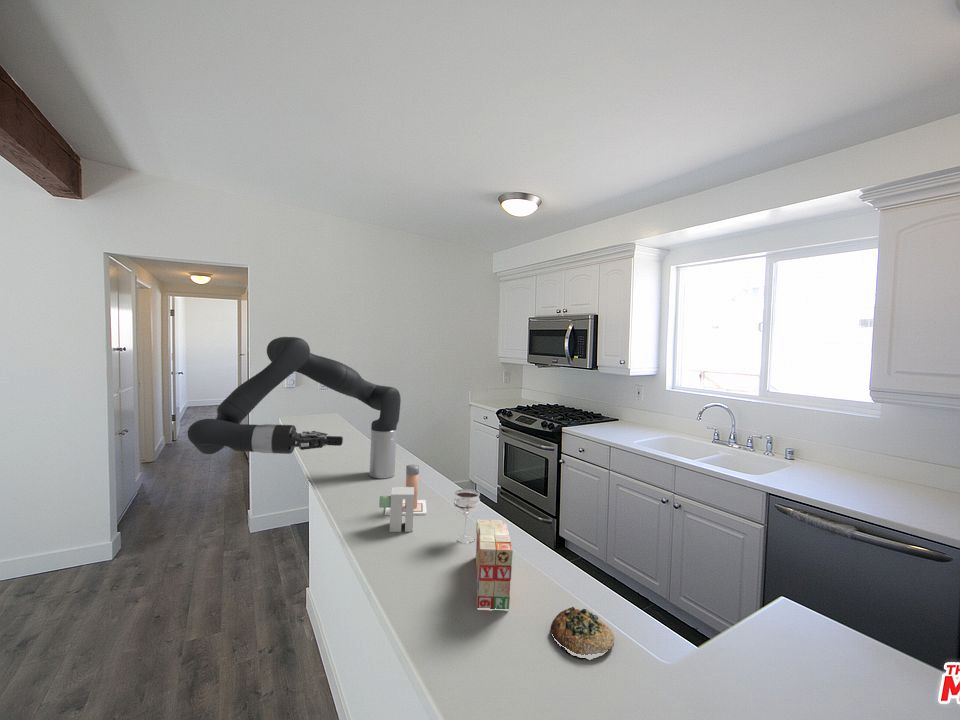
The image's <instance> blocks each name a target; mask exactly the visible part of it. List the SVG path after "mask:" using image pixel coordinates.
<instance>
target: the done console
mask: <svg viewBox="0 0 960 720" xmlns="http://www.w3.org/2000/svg"><path fill="white" fill-rule="evenodd" d="M390 496H391V508H390V515H389V516H390V518H389V533H400V532H402V526H403V525H402V522H403V515H402V504H403V500H405V499H406V515H405V519H404V522H405V523H404V524H405V525H404V532H405V533H408V532H409V533H411V532H414V530H413V527H414V515H413V509H414V487H406V486H392V488H391V492H390Z"/></svg>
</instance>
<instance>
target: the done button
mask: <svg viewBox="0 0 960 720" xmlns="http://www.w3.org/2000/svg"><path fill="white" fill-rule="evenodd" d="M378 507H379V508H381V509H383V508H385V509H386V508H391V495H380V496H379V506H378Z"/></svg>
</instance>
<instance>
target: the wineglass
mask: <svg viewBox="0 0 960 720" xmlns="http://www.w3.org/2000/svg"><path fill="white" fill-rule="evenodd" d="M454 495H455V496H454V499H453V506H454V508H456V510H457V512H459V513H461V514H462V515H463V516H464V534H461V535H458V536H456V537H455V541H456V540H458V541H460V542H463V543H462V544H470V543H469V542H472V541H474V542H475V540H474V539H475V537H474V536H472V535H468V534H467V530H468V529H467V528H468V516H469V515H471V514H473V513H474V512H475V511H476V510H478V509H479V507H480V503H481V499H480V496H481V493H480V492H479V491H478V490H475V489H472V488H471V489H470V488H461V489H457V490H455V491H454ZM473 537H474V538H473ZM460 542H459V543H460ZM472 543H473V542H472Z"/></svg>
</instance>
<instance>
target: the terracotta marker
mask: <svg viewBox="0 0 960 720" xmlns="http://www.w3.org/2000/svg"><path fill="white" fill-rule="evenodd" d="M405 467H406V468H405V473H406V475H405V487H414V509H416V508H417V500H418V496H419V495H418V494H419V493H418V492H419V474H420V466H419V465H417V464H408V465H406V466H405ZM404 500H405V508H406V499H404Z"/></svg>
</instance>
